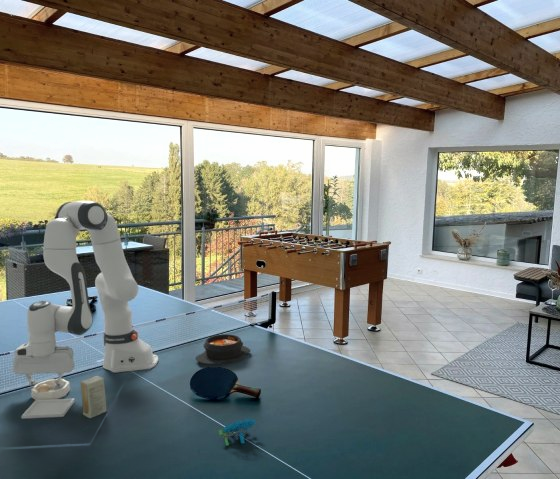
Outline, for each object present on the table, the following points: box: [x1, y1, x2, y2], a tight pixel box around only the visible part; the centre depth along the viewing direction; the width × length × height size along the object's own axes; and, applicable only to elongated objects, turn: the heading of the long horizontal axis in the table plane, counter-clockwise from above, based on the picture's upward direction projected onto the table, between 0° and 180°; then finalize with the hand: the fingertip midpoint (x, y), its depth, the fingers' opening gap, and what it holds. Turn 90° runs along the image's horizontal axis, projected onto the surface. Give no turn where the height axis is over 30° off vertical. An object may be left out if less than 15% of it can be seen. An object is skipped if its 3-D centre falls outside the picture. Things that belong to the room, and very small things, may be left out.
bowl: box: [30, 378, 71, 401], centre depth 177 cm, size 12×12×4 cm
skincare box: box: [80, 375, 107, 419], centre depth 162 cm, size 6×4×12 cm
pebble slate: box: [54, 384, 64, 391], centre depth 177 cm, size 4×4×4 cm
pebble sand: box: [39, 384, 50, 392], centre depth 177 cm, size 4×4×4 cm
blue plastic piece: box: [218, 418, 256, 447], centre depth 145 cm, size 11×6×10 cm
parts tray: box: [20, 397, 76, 419], centre depth 165 cm, size 13×11×2 cm
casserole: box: [195, 334, 252, 366], centre depth 211 cm, size 25×19×8 cm
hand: (45, 384), depth 177 cm, fingers open, 8 cm apart
